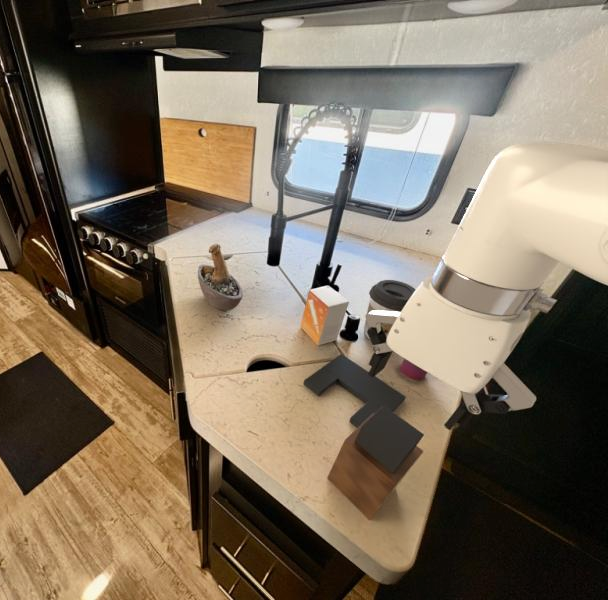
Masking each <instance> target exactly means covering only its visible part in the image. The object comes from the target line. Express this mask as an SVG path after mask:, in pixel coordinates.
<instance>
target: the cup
mask: <svg viewBox="0 0 608 600" xmlns="http://www.w3.org/2000/svg"><path fill="white" fill-rule="evenodd" d="M399 368H400V371H401V373H402V374H403V375H404V376H405V377H407V378H408V379H412V380H415V381H420V380H423V379H424V378H425V377H426V375H428V374H429V373H428V372H426V371H425V370H423V369H421V368H420V367H418V366H416V365H415V364H413V363H411V362H410V361H408V360H406V359H405V358H403V360H402V363H401V365H400V367H399Z"/></svg>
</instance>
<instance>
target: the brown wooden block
mask: <svg viewBox="0 0 608 600" xmlns="http://www.w3.org/2000/svg"><path fill="white" fill-rule="evenodd" d="M373 415H374V413H373V414H372V415H371V416H370V417H369V418H367V419H366V420H365V421H364V422H363V423H362V424H361V425H360V426H359V427H358V428H357V427H356V429H355V430H354V431H352V433H350V434H349V435H348V436H347V437H346V438H345V439H344V440H343V442H342V445H341V447H340V449H339V451H338V453H337V456H336V458H335V460H334V462H333V464H332V467H331V468H330V471H329V473H328V475H327V477H326V479H328V481H329V482H331V484H332V485H334V486H335V487H336V489H338V491H340V493H342V495H344V497H346V498H347V499H348V501H350V503H352V505H353V506H355V508H356V509H358V510H359V511H360V512H361V514H363V515H364V516H365V517H366V518H367V519H368V521H370V520H372V518H373V517H374V516H375V515H376V513H378V511H379V510H380V508H381V507H382V505H384V503H386V501H387V500H388V498H389V497H390V496H391V495H392V494H393V492H394V491H395V490H396V488H398V486H399V485H400V483H401V481H403V479H404V478H405V476H406V475H407V474H408V472H409V471H410V470H411V469H412V468H413V466H414V465H415V464H416V462H417V461H418V459H419V458H420V457H421V455H422V454H423V453H424V450H423V449H422V448H420V447H419V446H418V445H417V446H416V447H415V448H414V450H413V451H412V452H411V453H410V454H409V456H408V457H407V458H406V459H405V460H404V462H403V463H402V464H401V465H400V466H399V468H398V469H397V470H396V471H395V472H394V473H393V474H392V473H391V472H390V471H389V470H388V469H387V468H385V467H384V466H383V465H382V464H381V463H380V462H378V461H377V460H376V459H375V458H374V457H372V456H371V455H370V454H369V453H368V452H367V451H365V450H364V449H363V448H362V447H361V446H359V445H358V444H357V443H356V442H355V439H356V437H357V435H358V433H359V431H360V429H361V427H362V426H363V425H364V424H365V423H366V422H367V421H368V420H369V419H370V418H371V417H372V416H373Z"/></svg>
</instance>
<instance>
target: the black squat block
mask: <svg viewBox="0 0 608 600" xmlns="http://www.w3.org/2000/svg"><path fill="white" fill-rule="evenodd" d="M424 435H425V434H424V433H423V432H421V431H420V430H418V429H417V428H416V427H414V426H413V425H412V424H411V423H409V422H408V421H406V420H405V419H403V418H402V417H401V416H399V415H398V414H396V413H395V412H392V411H391V410H389V409H388V408H386V407H385V406H383V407H382V408H381V409H379V410H378V411H377V412H376V413H375V414H374V415H373V416H372V417H371V418H370V419H369V420H368V421H367V422H366V423H365V424H364V425H363V426H362V427H361V429H360V431H359V433H358V435H357V437H356V439H355V442H356V443H357V444H358V445H359V446H361V447H362V448H363V449H364V450H365V451H367V452H368V453H369V454H370V455H371V456H372V457H374V458H375V459H376V460H377V461H378V462H380V463H381V464H382V465H383V466H384V467H385V468H387V469H388V470H389V471H390V472H391V473H392V474H393V473H394V472H395V471H396V470H397V469H398V468H399V466H400V465H401V464H402V463H403V462H404V460H405V459H406V458H407V457H408V456H409V454H410V453H411V452H412V451H413V450H414V448H415V447H416V446H418V444H419V443H420V441H421V440H422V439H423V437H424Z"/></svg>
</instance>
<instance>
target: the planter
mask: <svg viewBox="0 0 608 600" xmlns="http://www.w3.org/2000/svg"><path fill="white" fill-rule="evenodd" d="M221 248H222V247H221V244H219V243H215V244H211V246H209V249H208V253H209V254H210V255H211V258H212V259H211V260H212V262H213V265H209V264H200V265H199V266H198V269H197V278H198V283H199V287H200V290H201V292H202V294H203V297H204V299H206V301H207V302H208V303H209V305H211V306H212V307H214V309H216V310H219V311H222V312H223V311H224V312H226V311H232V310H234V309H235V308H236V307H238V305H239V304H240V302H241V301H242V299H243V295H244V293H243V292H244V291H243V289H242V286H241V285H240V283H239V281H238V280H237V279H236V278H235V277H234V276H233V275H231V274H230V273H229V270H228V266H227V263H226V260H225V258H224V255H223V253H222V249H221Z"/></svg>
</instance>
